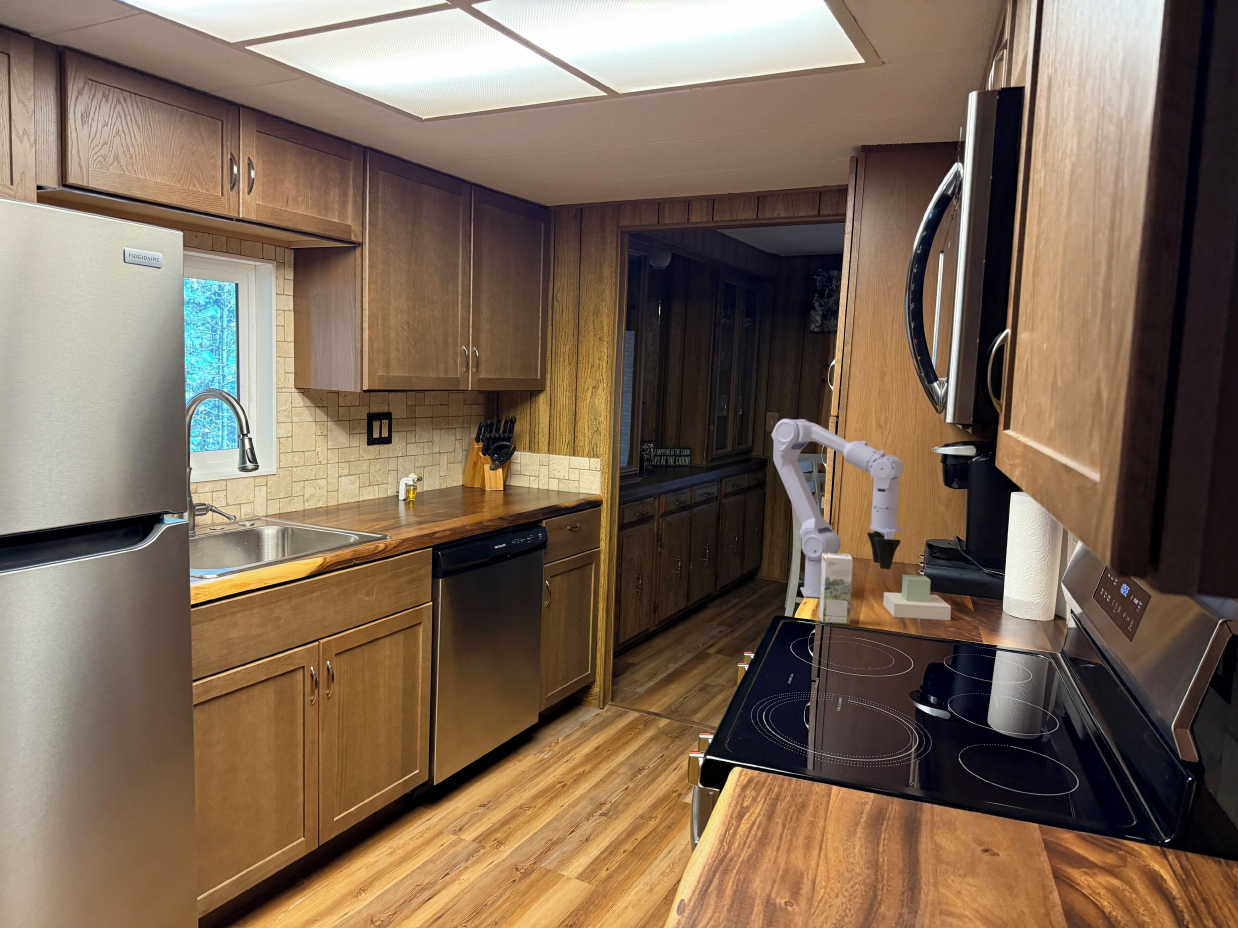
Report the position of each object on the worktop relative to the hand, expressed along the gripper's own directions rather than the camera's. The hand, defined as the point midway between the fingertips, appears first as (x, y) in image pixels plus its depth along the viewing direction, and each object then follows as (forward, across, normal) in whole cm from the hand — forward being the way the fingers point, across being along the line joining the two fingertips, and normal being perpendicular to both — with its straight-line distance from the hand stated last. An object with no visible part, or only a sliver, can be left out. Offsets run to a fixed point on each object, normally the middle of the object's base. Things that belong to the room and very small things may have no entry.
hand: (881, 565), depth 199 cm
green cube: (+6, -5, -7) cm, 11 cm away
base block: (+9, -5, -7) cm, 13 cm away
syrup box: (+10, -18, +13) cm, 24 cm away
